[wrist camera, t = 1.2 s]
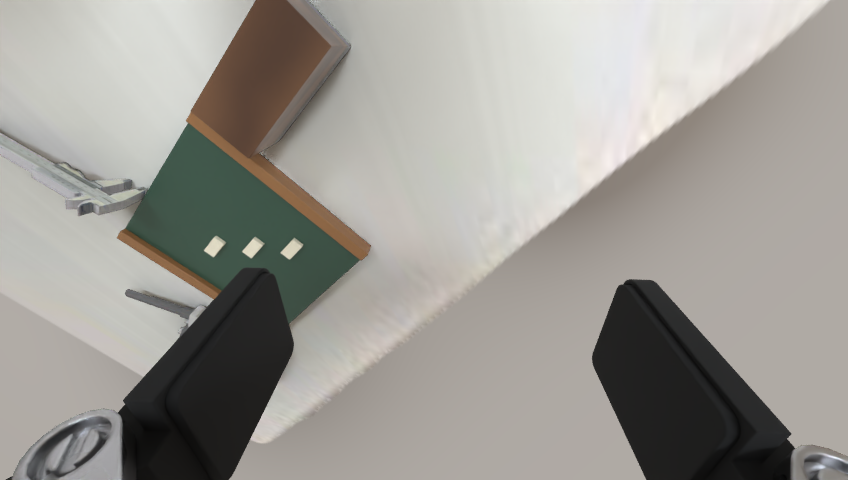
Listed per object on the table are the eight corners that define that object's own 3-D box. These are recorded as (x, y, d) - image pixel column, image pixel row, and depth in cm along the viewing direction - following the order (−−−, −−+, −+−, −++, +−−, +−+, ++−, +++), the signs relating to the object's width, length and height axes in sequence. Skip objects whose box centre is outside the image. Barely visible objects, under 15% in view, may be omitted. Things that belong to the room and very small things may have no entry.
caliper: (150, 187, 34) (95, 213, 29) (149, 195, 35) (95, 223, 30) (-82, 88, 31) (-195, 97, 25) (-79, 99, 31) (-189, 110, 26)
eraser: (231, 101, 30) (189, 111, 25) (301, -8, 25) (267, -21, 21) (278, 141, 31) (248, 159, 26) (351, 46, 27) (331, 46, 22)
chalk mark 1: (206, 248, 36) (203, 250, 36) (216, 235, 35) (213, 237, 35) (216, 255, 37) (213, 257, 36) (226, 242, 36) (224, 244, 35)
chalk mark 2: (244, 249, 36) (241, 251, 36) (255, 236, 35) (253, 238, 35) (253, 256, 37) (251, 258, 36) (265, 243, 36) (262, 245, 35)
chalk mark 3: (282, 250, 36) (280, 253, 36) (294, 237, 35) (292, 239, 35) (291, 257, 36) (289, 260, 36) (303, 244, 35) (302, 247, 35)
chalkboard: (130, 230, 37) (116, 238, 36) (204, 107, 30) (191, 110, 28) (280, 327, 44) (274, 338, 42) (371, 245, 37) (368, 254, 35)
